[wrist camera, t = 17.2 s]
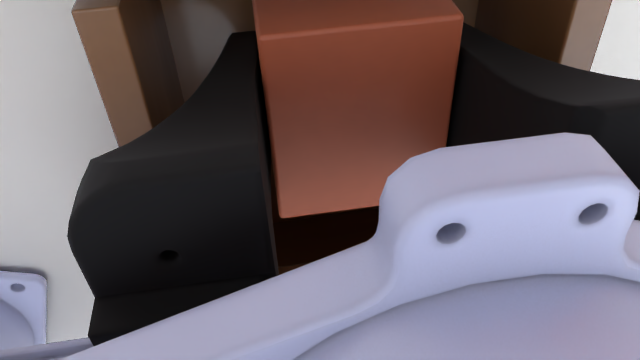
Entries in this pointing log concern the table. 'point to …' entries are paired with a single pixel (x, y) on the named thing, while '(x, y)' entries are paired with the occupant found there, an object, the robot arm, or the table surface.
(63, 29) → the table surface
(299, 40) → the block
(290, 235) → the drawer
